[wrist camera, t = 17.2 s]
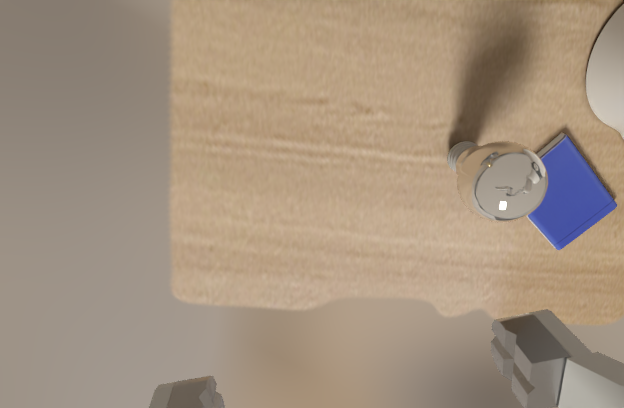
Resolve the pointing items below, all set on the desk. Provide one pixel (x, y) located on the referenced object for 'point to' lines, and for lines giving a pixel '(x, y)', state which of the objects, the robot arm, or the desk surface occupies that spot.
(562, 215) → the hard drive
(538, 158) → the light bulb
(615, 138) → the desk surface
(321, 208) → the desk surface
